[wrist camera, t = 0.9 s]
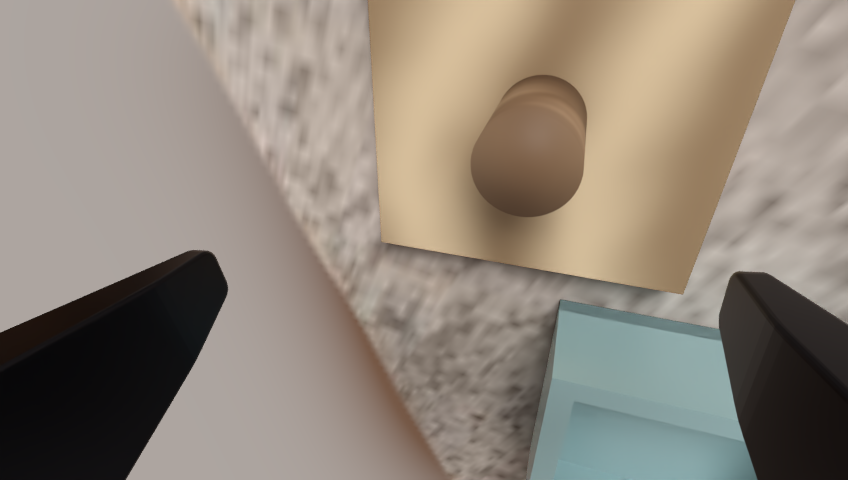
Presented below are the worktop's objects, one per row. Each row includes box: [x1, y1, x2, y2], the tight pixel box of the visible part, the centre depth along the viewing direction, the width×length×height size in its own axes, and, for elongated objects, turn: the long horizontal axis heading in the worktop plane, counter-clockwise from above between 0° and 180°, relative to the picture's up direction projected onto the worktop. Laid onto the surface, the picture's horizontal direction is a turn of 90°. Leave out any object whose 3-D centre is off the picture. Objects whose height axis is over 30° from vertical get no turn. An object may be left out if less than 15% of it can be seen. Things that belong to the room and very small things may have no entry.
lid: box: [368, 0, 795, 294], centre depth 16 cm, size 13×13×5 cm
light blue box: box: [526, 300, 757, 480], centre depth 22 cm, size 12×12×5 cm
